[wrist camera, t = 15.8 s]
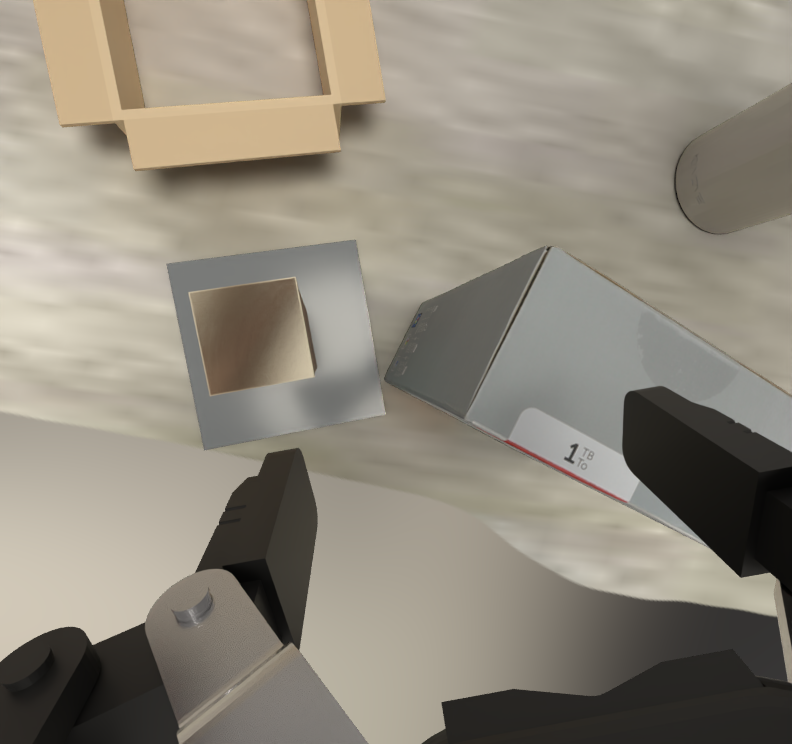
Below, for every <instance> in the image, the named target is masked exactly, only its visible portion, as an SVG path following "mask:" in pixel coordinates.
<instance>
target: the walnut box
mask: <svg viewBox="0 0 792 744" xmlns="http://www.w3.org/2000/svg"><path fill="white" fill-rule="evenodd" d="M188 293H189V298H190V303H191V308H192V312H193V317H194V322H195V327H196V332H197V337H198V341H199V346H200V351H201V356H202V361H203V366H204V371H205V375H206V380H207V385H208V390H209V395H210V396H214V395H220V394H225V393H231V392H236V391H242V390H247V389H253V388H258V387H264V386H269V385H274V384H280V383H285V382H291V381H296V380H302V379H307V378H313V377H315V371H316V369H317V364H316V359H315V353H314V348H313V343H312V337H311V332H310V327H309V321H308V316H307V311H306V308H305V305H304V302H303V300H302V297H301V294H300V291H299V289H298V283H297V279H296V277H290V278H283V279H276V280H269V281H262V282H255V283H249V284H242V285H235V286H228V287H221V288H214V289H207V290H200V291H193V292H188Z"/></svg>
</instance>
